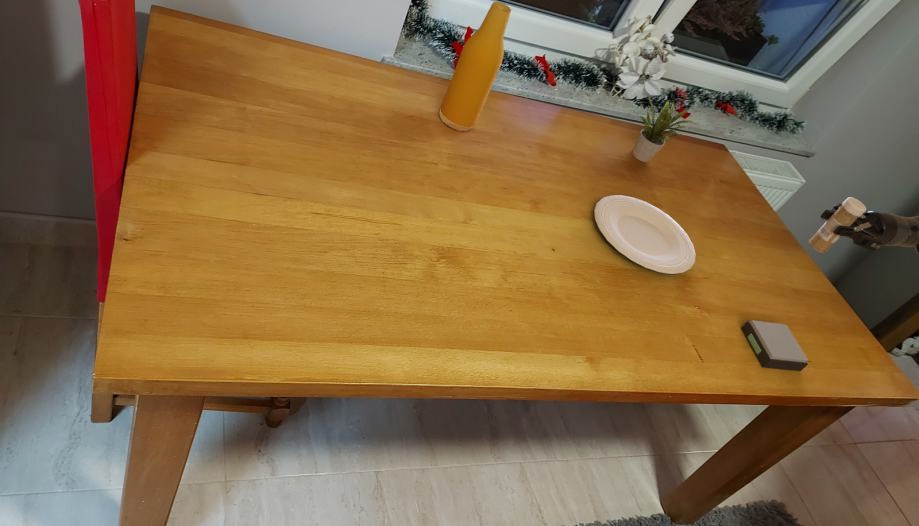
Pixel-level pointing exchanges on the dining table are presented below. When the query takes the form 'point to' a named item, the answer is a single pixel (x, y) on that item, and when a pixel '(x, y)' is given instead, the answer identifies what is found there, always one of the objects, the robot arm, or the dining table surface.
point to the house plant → (656, 132)
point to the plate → (644, 234)
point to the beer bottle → (477, 69)
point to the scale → (774, 345)
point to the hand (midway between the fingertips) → (830, 222)
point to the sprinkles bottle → (837, 224)
